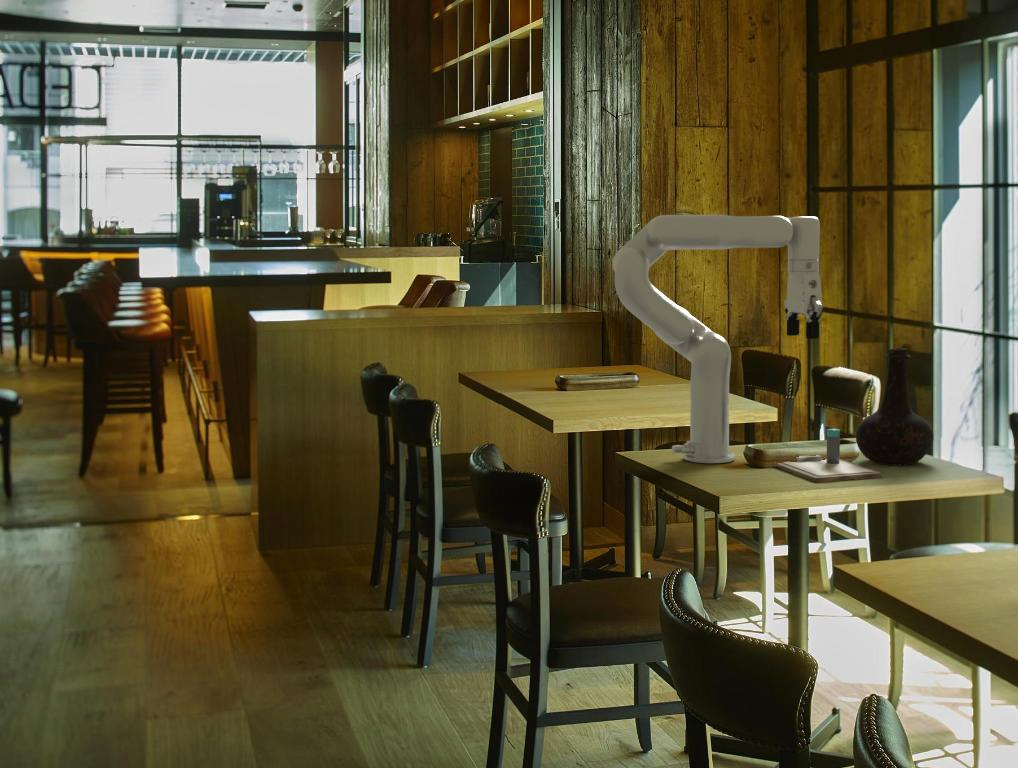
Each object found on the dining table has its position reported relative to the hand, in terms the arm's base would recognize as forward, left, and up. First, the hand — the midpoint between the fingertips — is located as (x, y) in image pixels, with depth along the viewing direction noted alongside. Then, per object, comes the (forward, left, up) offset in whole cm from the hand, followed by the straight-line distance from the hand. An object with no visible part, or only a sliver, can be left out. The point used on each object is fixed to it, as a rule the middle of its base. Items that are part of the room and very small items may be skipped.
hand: (802, 336), depth 310 cm
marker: (+1, -14, -29) cm, 32 cm away
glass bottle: (+18, -13, -31) cm, 38 cm away
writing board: (-3, -18, -30) cm, 35 cm away
